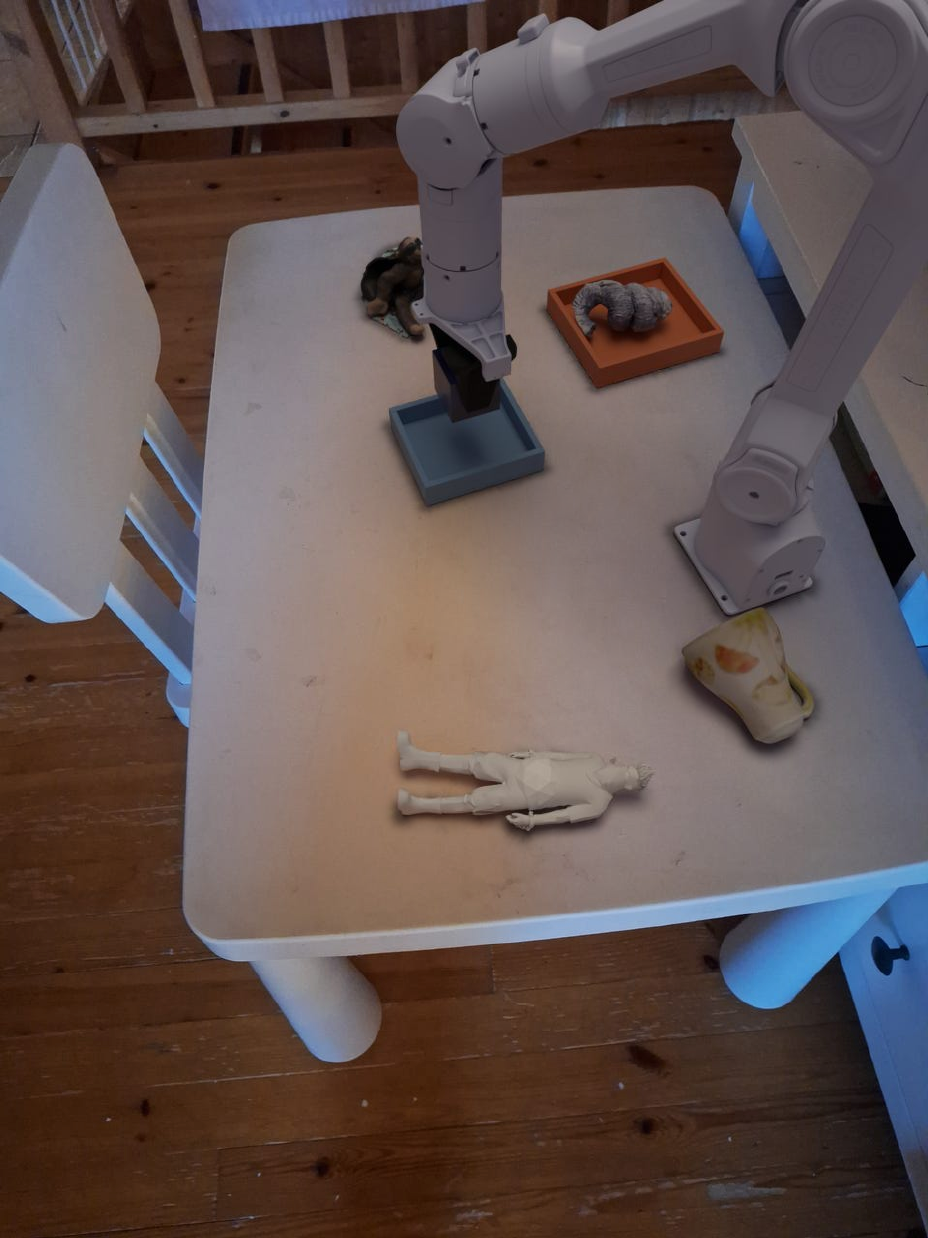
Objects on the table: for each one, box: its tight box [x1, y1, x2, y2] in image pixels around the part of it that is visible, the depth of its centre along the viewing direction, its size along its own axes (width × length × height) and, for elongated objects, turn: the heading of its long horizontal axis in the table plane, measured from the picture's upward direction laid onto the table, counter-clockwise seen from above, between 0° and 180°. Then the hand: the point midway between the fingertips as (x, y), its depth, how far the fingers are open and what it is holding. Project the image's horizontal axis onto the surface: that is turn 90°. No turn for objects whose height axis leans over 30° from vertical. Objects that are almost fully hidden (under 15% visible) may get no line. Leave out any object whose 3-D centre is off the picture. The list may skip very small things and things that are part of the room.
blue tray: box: [388, 377, 546, 507], centre depth 82 cm, size 10×11×2 cm
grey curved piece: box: [572, 280, 673, 336], centre depth 88 cm, size 5×5×10 cm
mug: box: [680, 606, 815, 744], centre depth 67 cm, size 8×10×10 cm
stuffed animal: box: [360, 236, 426, 338], centre depth 94 cm, size 12×10×12 cm
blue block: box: [431, 343, 500, 423], centre depth 76 cm, size 4×4×4 cm
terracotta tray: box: [546, 256, 725, 389], centre depth 90 cm, size 12×13×2 cm
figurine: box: [396, 729, 656, 832], centre depth 64 cm, size 7×4×18 cm
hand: (466, 386), depth 76 cm, fingers closed on blue block, 4 cm apart
